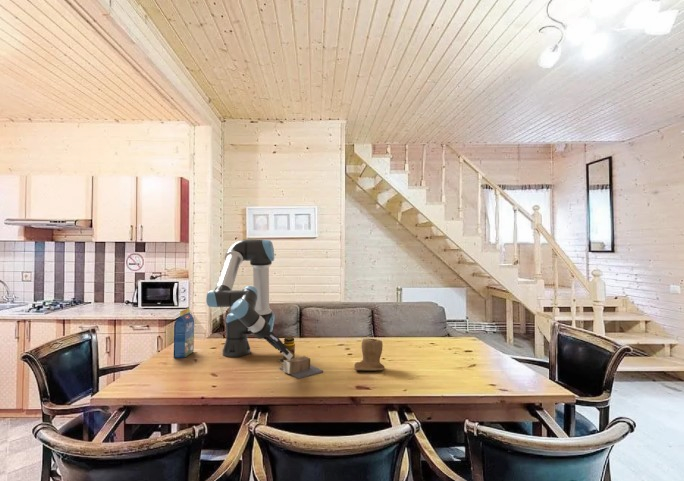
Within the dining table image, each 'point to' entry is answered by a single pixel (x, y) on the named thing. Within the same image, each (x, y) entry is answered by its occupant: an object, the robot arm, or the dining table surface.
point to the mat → (306, 372)
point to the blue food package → (184, 335)
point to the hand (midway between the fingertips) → (290, 357)
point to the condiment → (289, 348)
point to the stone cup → (370, 356)
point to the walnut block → (296, 364)
